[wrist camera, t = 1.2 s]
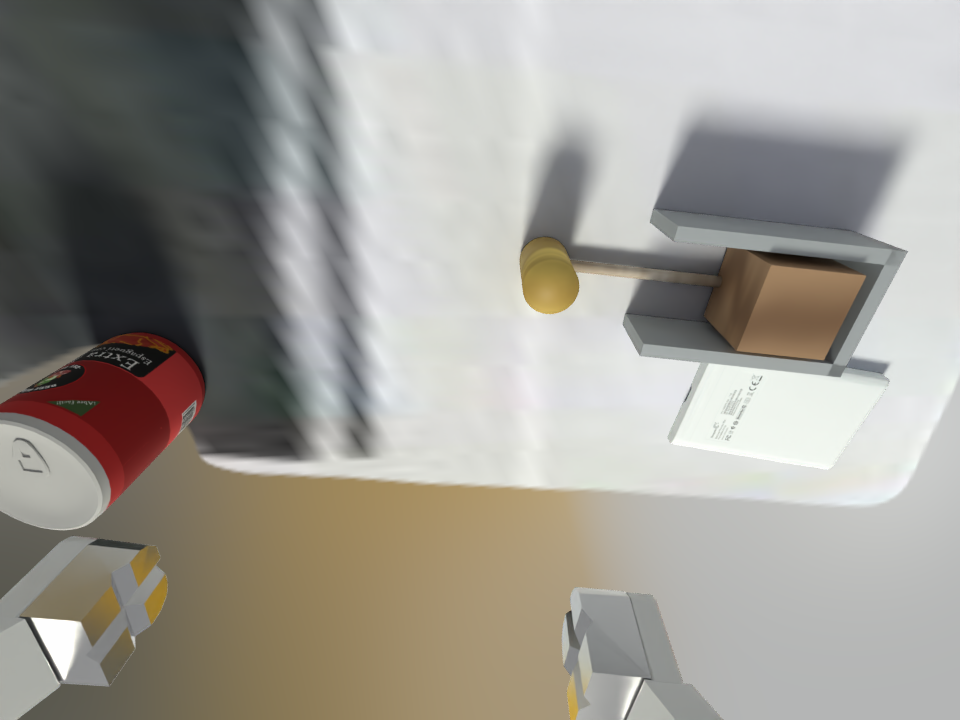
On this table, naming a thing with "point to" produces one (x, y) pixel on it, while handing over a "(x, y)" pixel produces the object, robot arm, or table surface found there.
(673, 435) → the external hard drive
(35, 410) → the canned food
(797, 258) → the towed block
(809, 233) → the lane
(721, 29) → the table surface
